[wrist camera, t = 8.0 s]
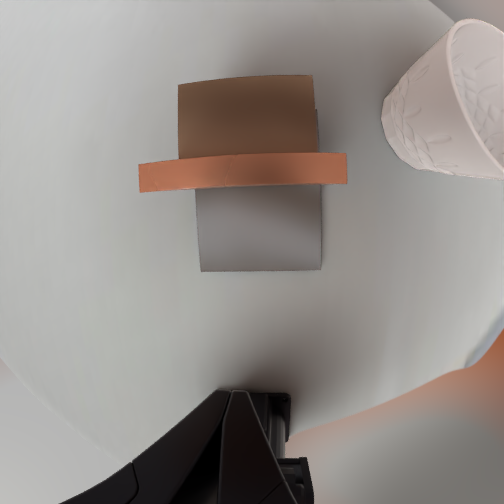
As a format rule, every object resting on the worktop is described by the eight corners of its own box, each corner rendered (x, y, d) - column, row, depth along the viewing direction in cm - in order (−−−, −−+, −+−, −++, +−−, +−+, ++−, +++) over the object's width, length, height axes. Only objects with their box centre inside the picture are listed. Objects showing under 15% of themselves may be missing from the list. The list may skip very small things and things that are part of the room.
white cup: (379, 61, 16) (441, -9, 6) (464, 101, 15) (548, 73, 6) (363, 159, 17) (442, 138, 8) (454, 193, 17) (550, 207, 7)
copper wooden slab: (313, 184, 17) (347, 183, 9) (201, 188, 18) (139, 192, 9) (309, 107, 16) (335, 46, 8) (198, 113, 17) (140, 63, 8)
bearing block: (319, 267, 19) (338, 306, 13) (202, 269, 20) (170, 306, 14) (315, 111, 17) (334, 76, 11) (195, 117, 18) (158, 88, 11)
